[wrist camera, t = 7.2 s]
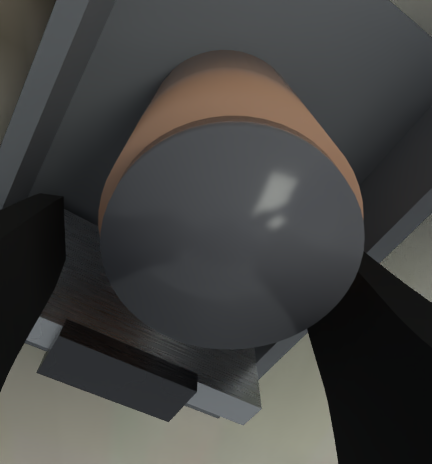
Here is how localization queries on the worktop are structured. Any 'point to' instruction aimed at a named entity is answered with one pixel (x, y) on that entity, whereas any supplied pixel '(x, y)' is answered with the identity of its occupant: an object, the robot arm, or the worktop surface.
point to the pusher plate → (132, 346)
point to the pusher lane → (238, 39)
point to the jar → (230, 209)
